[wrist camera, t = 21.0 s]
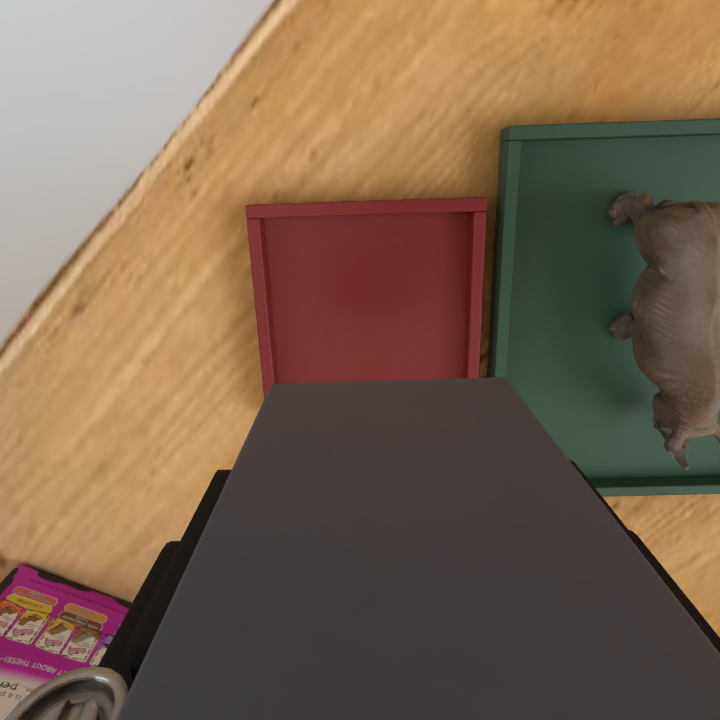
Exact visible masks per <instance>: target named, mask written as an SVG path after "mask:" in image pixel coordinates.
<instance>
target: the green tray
mask: <svg viewBox="0 0 720 720" xmlns="http://www.w3.org/2000/svg"><path fill="white" fill-rule="evenodd" d="M628 191H633V192H634V193H636V194H637V195H638V196H639V195H640V194H642V193H649V194H650V195H651V197H652V199H653V202H654V205H655V206H656V205H657V204H658V203H660V202H662V201H663V200H667V199H668V200H672V201H678V202H683V201H702V202H708V201H710V202H717V203H720V119H696V120H666V121H636V122H606V123H577V124H547V125H517V126H509V127H507V128H504V129H502V130H501V136H500V154H499V173H498V192H497V210H496V229H495V248H494V266H493V285H492V304H491V322H490V341H489V360H488V378H490V377H504V378H506V380H507V381H508V382H509V383H510V385H511V386H512V387H513V389H514V390H515V391H516V392H517V394H518V395H519V396H520V398H521V399H522V400H523V401H524V403H525V404H526V405H527V407H528V408H529V409H530V410H531V412H532V413H533V414H534V416H535V417H536V418H537V419H538V421H539V422H540V423H541V425H542V426H543V427H544V428H545V430H546V431H547V432H548V434H549V435H550V436H551V437H552V439H553V440H554V441H555V443H556V444H557V445H558V446H559V448H560V449H561V450H562V452H563V453H564V454H565V455H566V457H567V458H568V459H569V460H572V461H574V462H575V463H576V465H577V466H578V467H579V468H580V470H581V471H582V472H583V473H584V475H585V476H586V477H587V478H588V480H589V481H590V482H591V484H592V485H593V486H594V487H595V489H596V490H597V491H598V492H599V494H600V495H601V496H602V497H605V496H647V495H690V494H720V442H719V441H718V440H717V438H716V437H715V436H713V435H707V436H703V437H697V438H690V440H689V450H688V451H687V450H685V449H684V453H685V457H686V460H687V462H688V464H689V469H688V470H685V469H684V468H683V467H682V466H681V465H680V464H679V463H678V461H677V460H676V458H675V457H671V456H670V455H669V454H668V453H667V451H666V449H665V448H664V442H665V439H664V438H663V436H662V435H661V433H660V432H659V430H657V429H655V428H654V422H653V421H652V419H653V417H654V416H653V414H654V412H653V409H652V400H653V397H654V395H655V394H656V393H658V392H660V391H659V388H658V387H657V386H656V385H655V384H653V383H652V382H651V381H650V380H649V379H648V378H647V377H646V376H645V375H644V374H643V373H642V371H641V370H640V369H639V367H638V365H637V362H636V360H635V358H634V354H633V347H632V337H629V338H627V339H625V340H623V341H620V340H617V339H616V338H615V337H614V333H613V332H612V331H611V330H610V325H611V323H612V322H613V321H615V320H616V319H618V318H619V317H620V316H621V315H623V314H625V313H627V312H632V309H631V299H632V293H633V290H634V287H635V284H636V282H637V279H638V277H639V276H640V274H641V272H642V271H643V270H644V269H645V268H646V267H647V265H648V263H646V262H645V261H644V259H643V258H642V256H641V254H640V252H639V250H638V248H637V245H636V242H635V237H634V235H635V228H634V224H633V222H630V223H628V224H626V225H624V226H622V227H617V226H615V225H614V224H613V219H612V218H611V216H610V215H609V209H610V207H611V205H612V203H613V202H614V201H615V200H616V199H617V197H618V196H620V195H621V194H623V193H625V192H628ZM716 421H717V422H718V424H719V425H720V411H719V413H718V418H717V420H716Z"/></svg>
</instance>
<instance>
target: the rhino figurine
mask: <svg viewBox="0 0 720 720" xmlns="http://www.w3.org/2000/svg"><path fill="white" fill-rule="evenodd" d="M609 215H610V216H611V218H612V219H613V224H614V225H615V226H617V227H622V226H624V225H626V224H628V223H630V222H633V224H634V228H635V235H634V237H635V242H636V245H637V248H638V250H639V252H640V254H641V256H642V258H643V259H644V261H645V262H646V263H648V265H647V267H646V268H645V269H644V270H643V271H642V272H641V274H640V276H639V277H638V279H637V282H636V284H635V287H634V290H633V293H632V299H631V309H632V312H627V313H625V314H623V315H621V316H620V317H619V318H618V319H616V320H615V321H613V322H612V323H611V325H610V330H611V331H612V332H613V333H614V337H615V338H616V339H617V340H620V341H623V340H625V339H627V338H629V337H632V347H633V354H634V358H635V360H636V362H637V365H638V367H639V369H640V370H641V371H642V373H643V374H644V375H645V376H646V377H647V378H648V379H649V380H650V381H651V382H652V383H653V384H655V385H656V386H657V387H658V388H659V391H660V392H658V393H656V394H655V395H654V397H653V400H652V409H653V412H654V414H653V416H654V417H653V419H652V421H653V422H654V428H655V429H657V430H659V432H660V433H661V435H662V436H663V438H664V439H665V442H664V448H665V449H666V451H667V453H668V454H669V455H670V456H671V457H675V458H676V460H677V461H678V463H679V464H680V465H681V466H682V467H683V468H684V469H685V470H688V469H689V464H688V462H687V460H686V457H685V453H684V449H685V450H687V451H688V450H689V440H690V438H697V437H703V436H707V435H713V436H715V437H716V438H717V440H718V441H719V442H720V425H719V424H718V422H717V421H716V420H717V418H718V413H719V411H720V203H717V202H710V201H708V202H702V201H683V202H678V201H672V200H668V199H667V200H663V201H662V202H660V203H658V204H657V205H656V206H655V205H654V202H653V199H652V197H651V195H650V194H649V193H642V194H640V195H639V196H638V195H637V194H636V193H634V192H633V191H628V192H625V193H623V194H621V195H620V196H618V197H617V199H616V200H615V201H614V202H613V203H612V205H611V207H610V209H609Z"/></svg>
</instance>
